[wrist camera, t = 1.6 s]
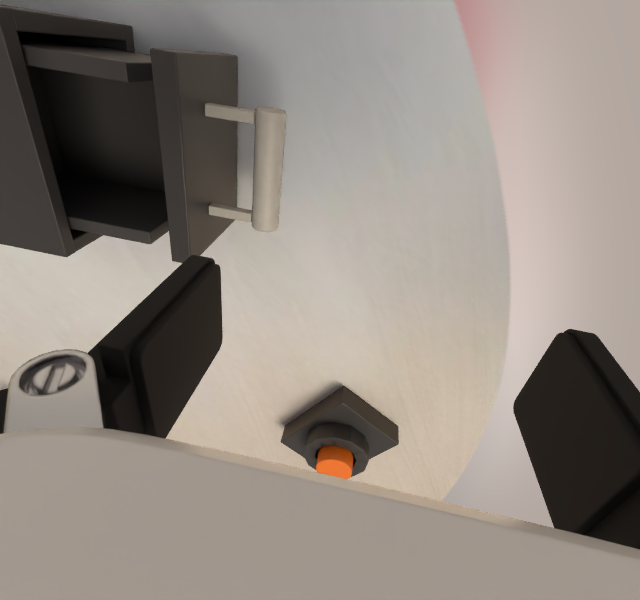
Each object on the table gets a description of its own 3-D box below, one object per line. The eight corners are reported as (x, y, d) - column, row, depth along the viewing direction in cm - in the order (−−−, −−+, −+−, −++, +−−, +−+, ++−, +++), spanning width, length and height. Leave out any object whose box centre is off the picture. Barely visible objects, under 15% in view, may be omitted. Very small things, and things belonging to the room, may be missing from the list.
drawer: (307, 67, 22) (273, 68, 15) (291, 229, 27) (262, 279, 21) (29, 21, 23) (-114, 3, 16) (70, 186, 28) (-23, 222, 22)
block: (343, 385, 37) (339, 417, 34) (398, 426, 39) (399, 460, 36) (285, 425, 42) (276, 456, 38) (336, 460, 44) (331, 492, 41)
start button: (334, 439, 36) (332, 455, 35) (360, 457, 37) (359, 473, 35) (311, 452, 38) (308, 468, 36) (337, 469, 39) (334, 485, 37)
